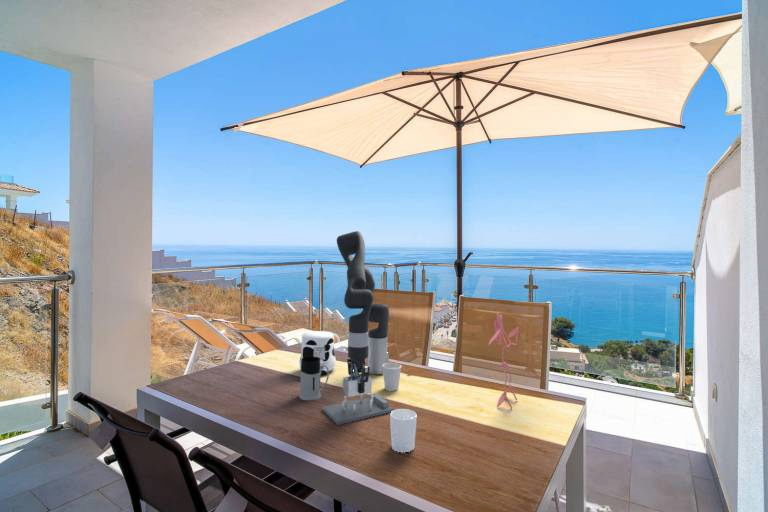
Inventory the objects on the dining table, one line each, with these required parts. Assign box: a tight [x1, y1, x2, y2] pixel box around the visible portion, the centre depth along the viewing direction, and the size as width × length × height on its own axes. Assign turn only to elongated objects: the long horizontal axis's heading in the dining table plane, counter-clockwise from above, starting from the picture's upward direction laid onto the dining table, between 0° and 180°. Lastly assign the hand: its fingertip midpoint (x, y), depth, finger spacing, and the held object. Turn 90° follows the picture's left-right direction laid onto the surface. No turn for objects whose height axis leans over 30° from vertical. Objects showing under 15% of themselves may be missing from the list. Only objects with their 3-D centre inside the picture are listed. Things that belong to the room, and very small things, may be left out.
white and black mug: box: [298, 357, 330, 401], centre depth 152 cm, size 9×14×15 cm, turn 55°
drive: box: [342, 375, 373, 398], centre depth 139 cm, size 9×5×6 cm, turn 118°
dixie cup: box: [382, 362, 403, 392], centre depth 163 cm, size 8×8×10 cm
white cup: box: [389, 408, 417, 454], centre depth 114 cm, size 8×8×10 cm
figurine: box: [488, 312, 520, 409], centre depth 151 cm, size 15×26×35 cm, turn 149°
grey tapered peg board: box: [321, 392, 395, 426], centre depth 140 cm, size 22×14×5 cm, turn 120°
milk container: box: [299, 330, 337, 375], centre depth 186 cm, size 17×17×18 cm
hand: (357, 390), depth 140 cm, fingers closed on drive, 5 cm apart
